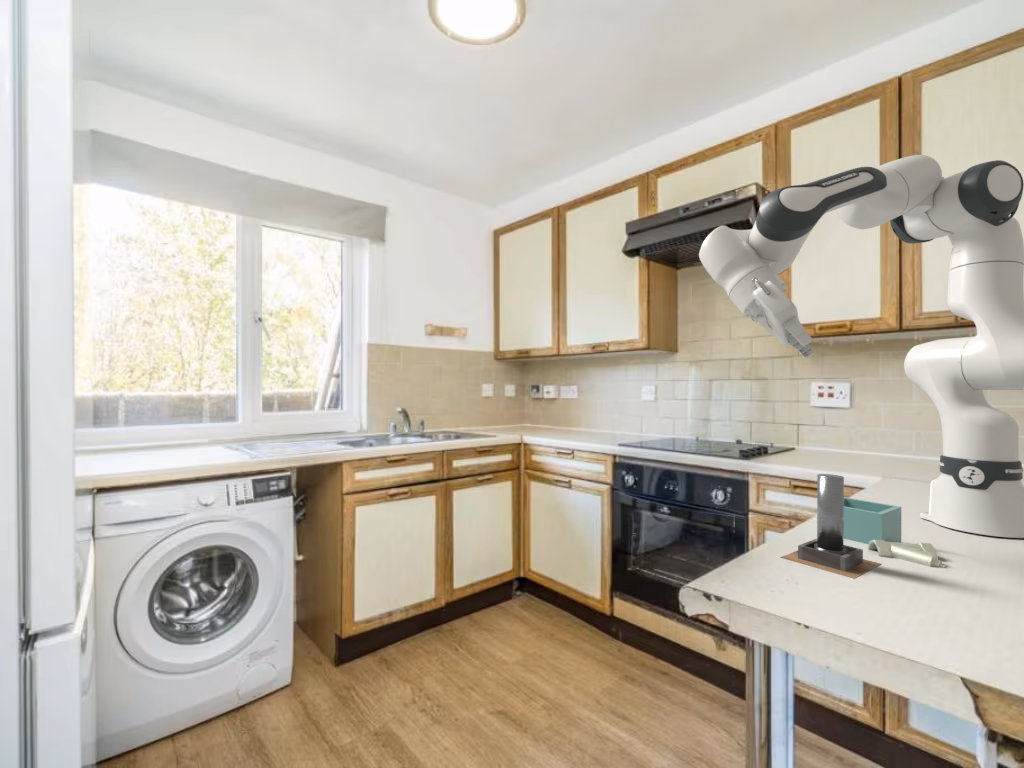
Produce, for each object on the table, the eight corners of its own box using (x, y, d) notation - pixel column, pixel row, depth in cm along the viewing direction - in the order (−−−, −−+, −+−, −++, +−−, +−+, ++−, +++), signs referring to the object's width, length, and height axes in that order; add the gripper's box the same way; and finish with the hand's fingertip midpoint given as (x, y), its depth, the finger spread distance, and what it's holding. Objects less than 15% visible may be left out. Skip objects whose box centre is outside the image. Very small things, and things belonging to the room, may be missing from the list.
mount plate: (809, 554, 80) (810, 533, 80) (881, 573, 72) (881, 550, 72) (780, 566, 75) (780, 544, 75) (854, 589, 66) (854, 564, 66)
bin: (842, 533, 93) (842, 496, 93) (901, 546, 85) (901, 506, 85) (821, 541, 87) (821, 503, 88) (881, 556, 80) (881, 514, 80)
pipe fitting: (952, 582, 71) (923, 562, 77) (953, 556, 71) (924, 539, 77) (890, 577, 73) (867, 558, 79) (891, 552, 72) (868, 535, 79)
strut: (821, 553, 76) (821, 472, 76) (851, 561, 73) (851, 476, 73) (809, 559, 74) (809, 475, 74) (839, 567, 71) (840, 479, 71)
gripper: (768, 262, 81) (825, 322, 75) (779, 300, 98) (826, 352, 92) (735, 286, 84) (787, 346, 78) (751, 319, 100) (795, 371, 94)
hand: (809, 349), depth 85 cm, fingers open, 8 cm apart
